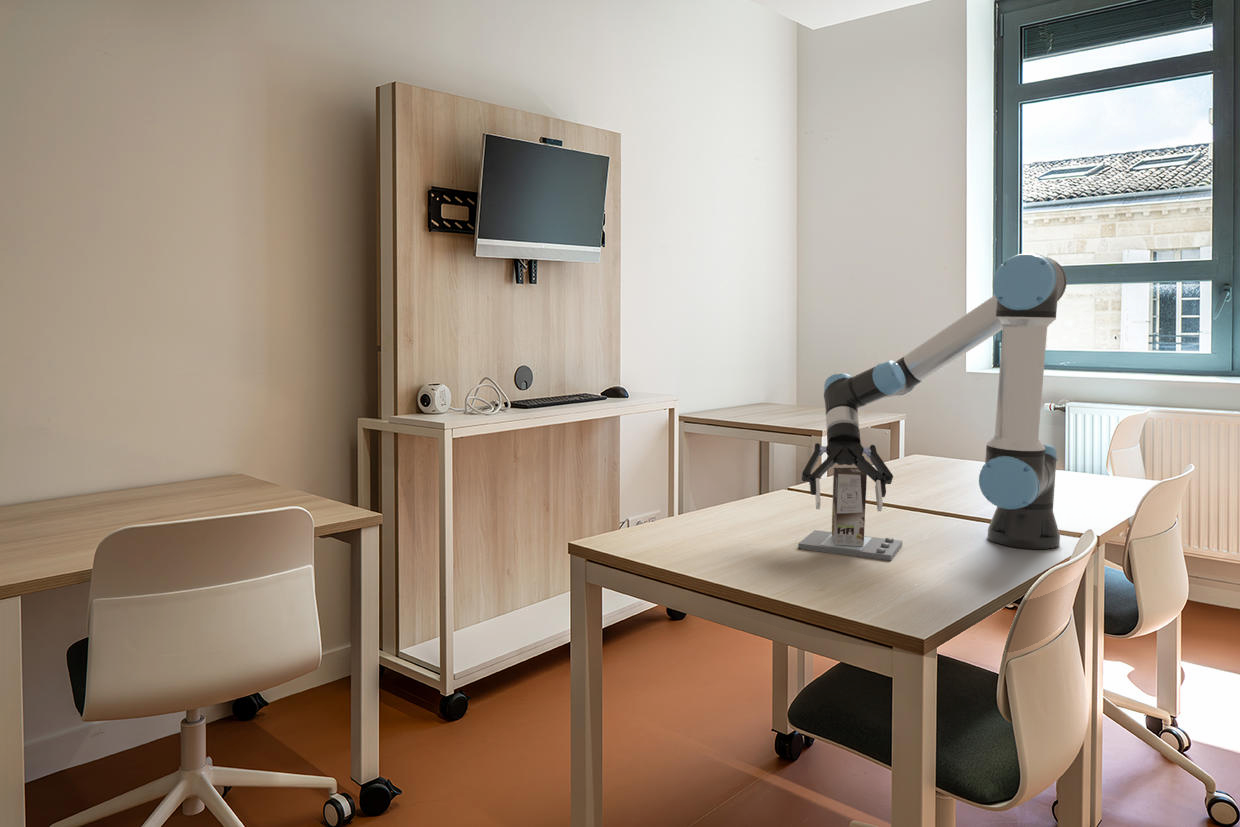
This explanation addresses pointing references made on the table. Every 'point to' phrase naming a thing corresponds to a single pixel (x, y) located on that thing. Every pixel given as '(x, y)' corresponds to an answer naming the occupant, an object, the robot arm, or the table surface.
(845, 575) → the table surface
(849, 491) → the coffee box
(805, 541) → the control panel
